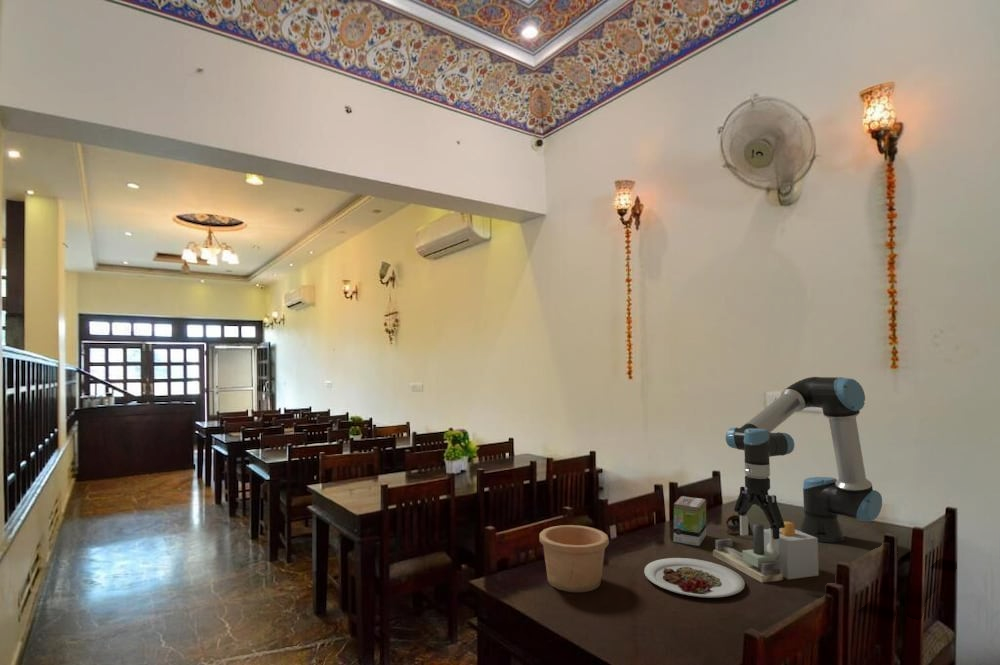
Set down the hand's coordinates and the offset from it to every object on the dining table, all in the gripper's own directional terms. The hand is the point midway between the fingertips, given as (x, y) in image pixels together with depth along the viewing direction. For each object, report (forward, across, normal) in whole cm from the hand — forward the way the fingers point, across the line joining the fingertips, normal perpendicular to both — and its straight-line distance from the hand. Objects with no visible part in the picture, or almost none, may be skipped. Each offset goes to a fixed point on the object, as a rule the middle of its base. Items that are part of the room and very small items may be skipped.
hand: (758, 541), depth 176 cm
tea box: (+11, -36, -1) cm, 38 cm away
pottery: (+11, -10, -61) cm, 63 cm away
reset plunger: (+4, 0, +12) cm, 13 cm away
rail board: (+10, -6, 0) cm, 12 cm away
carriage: (+7, 0, 0) cm, 7 cm away
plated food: (+11, -1, -24) cm, 26 cm away
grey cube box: (+10, 0, +12) cm, 16 cm away
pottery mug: (+11, -38, +22) cm, 45 cm away
